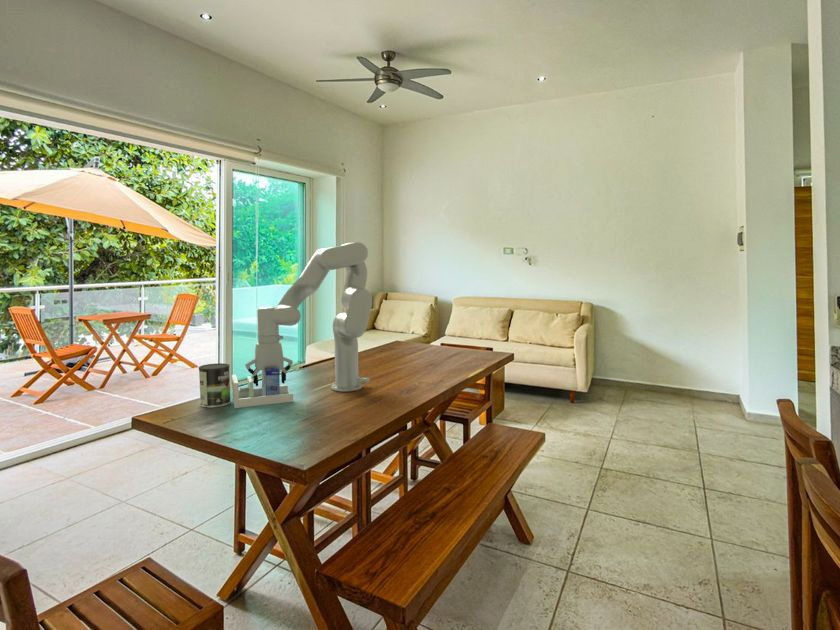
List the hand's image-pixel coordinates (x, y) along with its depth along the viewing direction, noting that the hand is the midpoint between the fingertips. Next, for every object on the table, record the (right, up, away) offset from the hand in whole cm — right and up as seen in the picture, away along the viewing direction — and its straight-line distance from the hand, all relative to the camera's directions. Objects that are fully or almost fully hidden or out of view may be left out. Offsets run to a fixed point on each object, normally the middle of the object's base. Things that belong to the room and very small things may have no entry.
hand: (270, 384), depth 175 cm
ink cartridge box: (0, -6, +1) cm, 6 cm away
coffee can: (-18, -6, -6) cm, 20 cm away
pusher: (-8, -6, -3) cm, 10 cm away
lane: (-2, -6, 0) cm, 6 cm away
